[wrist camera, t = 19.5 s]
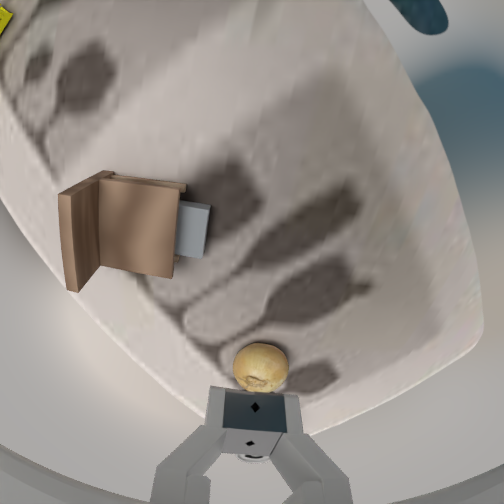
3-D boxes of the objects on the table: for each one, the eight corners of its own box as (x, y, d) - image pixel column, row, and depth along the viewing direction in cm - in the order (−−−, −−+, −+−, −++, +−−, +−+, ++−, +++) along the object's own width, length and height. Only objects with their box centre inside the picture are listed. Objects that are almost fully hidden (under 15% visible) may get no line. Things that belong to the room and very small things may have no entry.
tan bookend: (187, 180, 33) (163, 208, 24) (178, 262, 38) (158, 310, 29) (103, 170, 33) (57, 194, 24) (102, 248, 37) (66, 289, 28)
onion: (291, 337, 43) (297, 373, 37) (281, 373, 47) (284, 408, 40) (236, 332, 43) (234, 369, 36) (231, 369, 46) (229, 404, 40)
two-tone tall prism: (211, 204, 35) (208, 210, 33) (204, 251, 37) (202, 258, 36) (114, 190, 34) (107, 194, 32) (113, 235, 36) (107, 242, 35)
